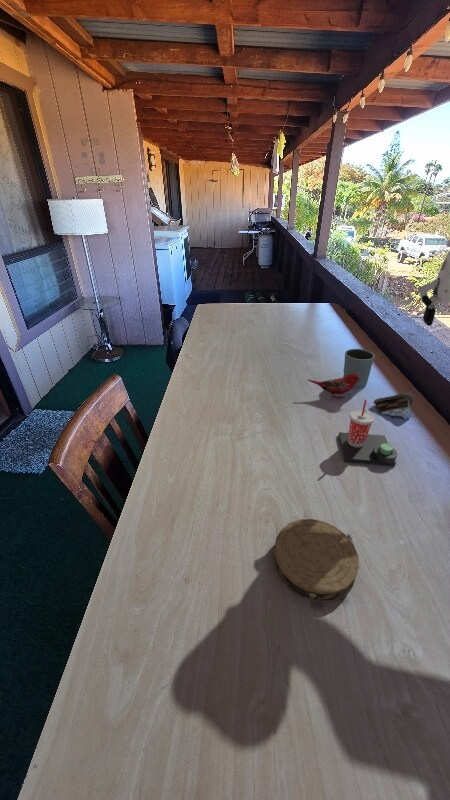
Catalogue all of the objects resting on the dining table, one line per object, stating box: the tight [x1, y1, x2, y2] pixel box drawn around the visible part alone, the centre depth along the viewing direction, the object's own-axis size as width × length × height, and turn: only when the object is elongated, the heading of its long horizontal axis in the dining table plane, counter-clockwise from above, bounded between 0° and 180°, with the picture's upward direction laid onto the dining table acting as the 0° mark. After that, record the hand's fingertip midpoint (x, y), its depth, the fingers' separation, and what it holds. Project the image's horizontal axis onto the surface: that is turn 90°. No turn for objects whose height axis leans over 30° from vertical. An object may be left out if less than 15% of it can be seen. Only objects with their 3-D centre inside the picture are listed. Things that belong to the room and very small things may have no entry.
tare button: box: [379, 443, 394, 455], centre depth 93 cm, size 3×3×2 cm
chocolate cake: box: [373, 391, 415, 420], centre depth 114 cm, size 10×7×12 cm
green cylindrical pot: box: [342, 348, 376, 389], centre depth 130 cm, size 10×10×12 cm
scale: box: [337, 431, 398, 467], centre depth 97 cm, size 13×12×3 cm
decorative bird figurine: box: [307, 373, 361, 399], centre depth 121 cm, size 3×18×10 cm, turn 78°
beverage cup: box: [348, 399, 375, 447], centre depth 96 cm, size 6×6×14 cm
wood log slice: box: [273, 518, 360, 603], centre depth 68 cm, size 16×16×3 cm
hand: (449, 324), depth 83 cm, fingers open, 9 cm apart
